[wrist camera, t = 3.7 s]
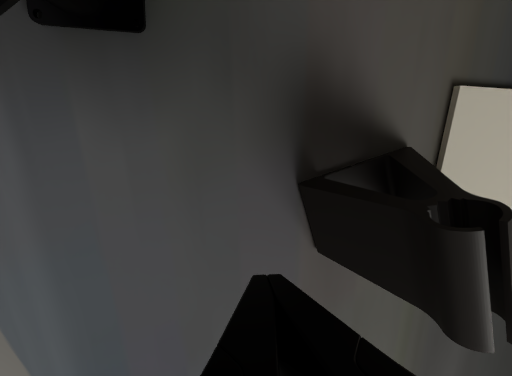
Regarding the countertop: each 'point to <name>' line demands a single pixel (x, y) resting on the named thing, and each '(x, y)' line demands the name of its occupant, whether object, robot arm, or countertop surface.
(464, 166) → the mat
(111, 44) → the countertop surface
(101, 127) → the countertop surface
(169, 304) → the countertop surface
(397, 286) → the phone stand
